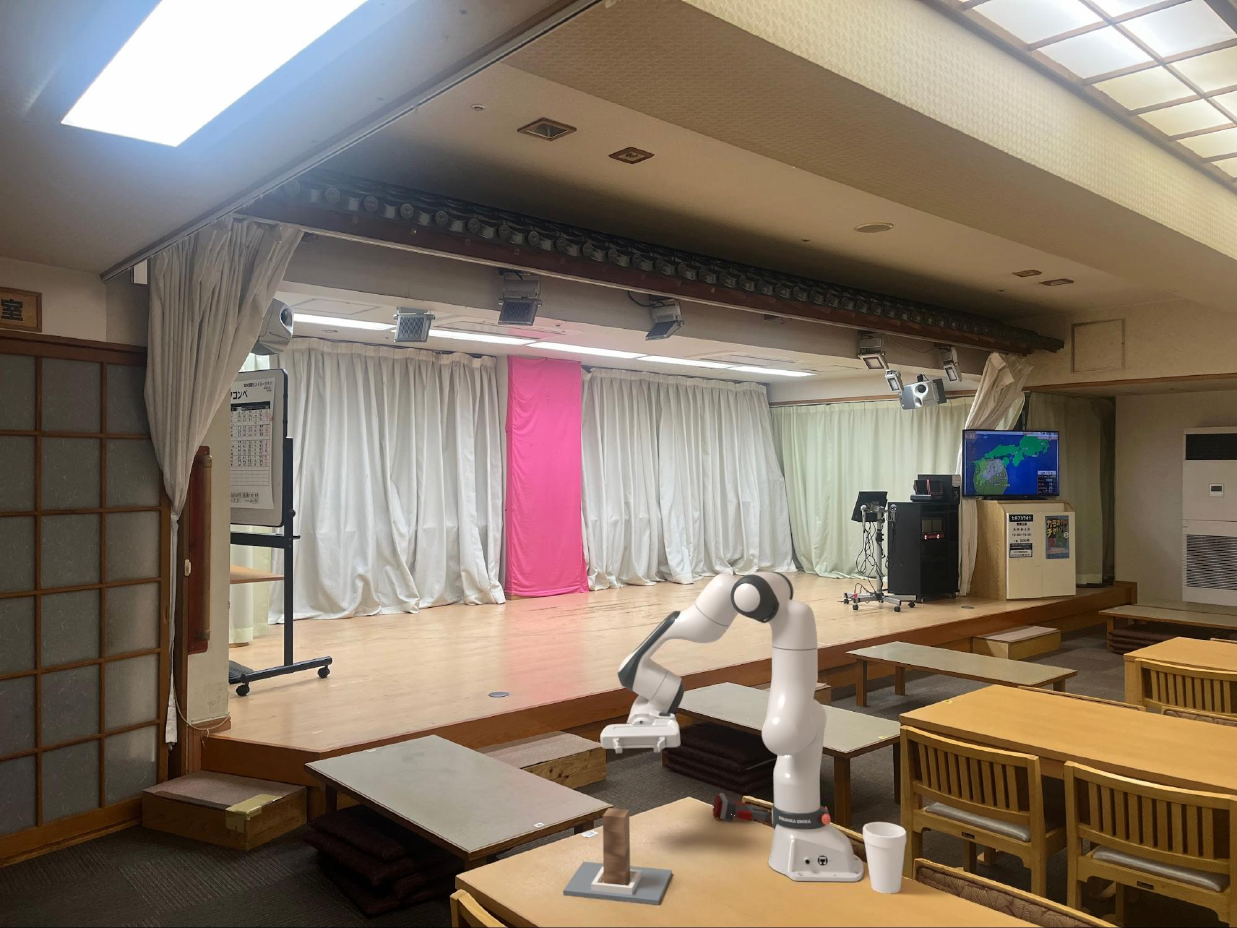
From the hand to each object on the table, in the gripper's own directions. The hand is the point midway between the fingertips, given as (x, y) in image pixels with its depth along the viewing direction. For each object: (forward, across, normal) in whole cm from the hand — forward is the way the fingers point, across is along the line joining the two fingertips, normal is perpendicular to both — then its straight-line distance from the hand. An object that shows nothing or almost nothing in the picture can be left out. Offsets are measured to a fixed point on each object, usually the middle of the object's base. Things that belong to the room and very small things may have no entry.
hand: (637, 749), depth 210 cm
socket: (+16, -5, +26) cm, 31 cm away
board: (+14, -5, +26) cm, 30 cm away
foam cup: (+9, +56, +30) cm, 64 cm away
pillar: (+16, -5, +25) cm, 30 cm away
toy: (-30, +23, +35) cm, 52 cm away
